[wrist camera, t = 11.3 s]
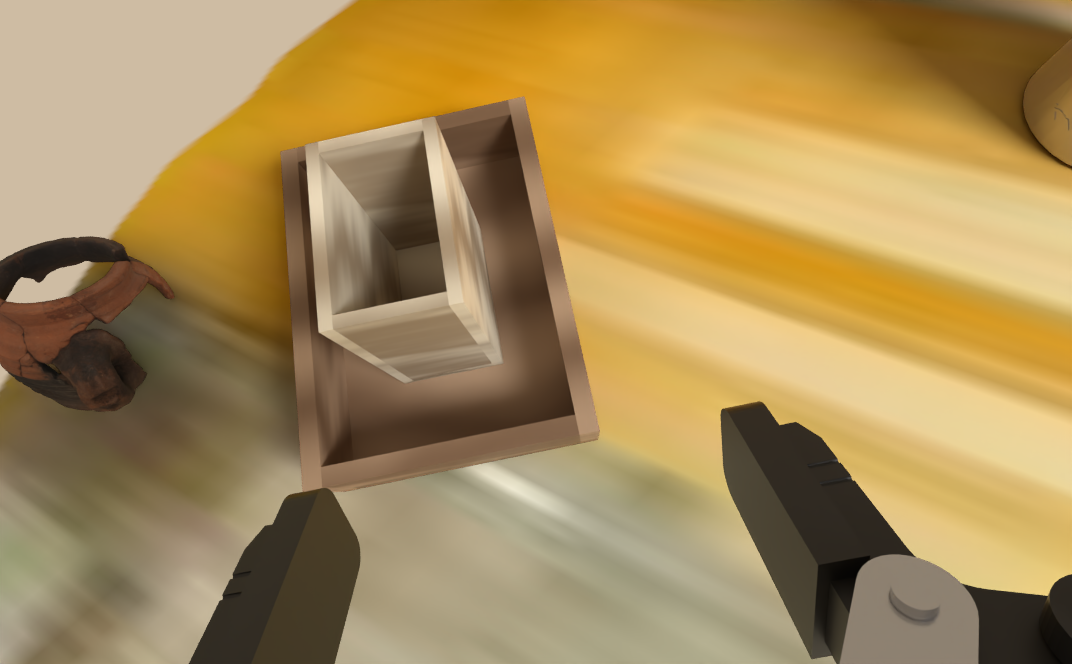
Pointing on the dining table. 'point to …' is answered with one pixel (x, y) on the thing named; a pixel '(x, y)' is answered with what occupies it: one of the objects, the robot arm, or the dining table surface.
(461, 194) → the birch crate
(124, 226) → the dining table surface
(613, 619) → the dining table surface
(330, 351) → the walnut crate
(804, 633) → the robot arm
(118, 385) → the pottery mug
